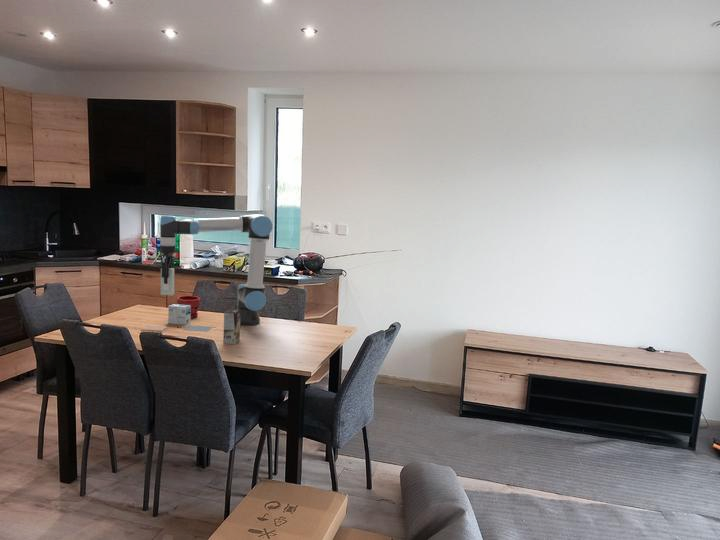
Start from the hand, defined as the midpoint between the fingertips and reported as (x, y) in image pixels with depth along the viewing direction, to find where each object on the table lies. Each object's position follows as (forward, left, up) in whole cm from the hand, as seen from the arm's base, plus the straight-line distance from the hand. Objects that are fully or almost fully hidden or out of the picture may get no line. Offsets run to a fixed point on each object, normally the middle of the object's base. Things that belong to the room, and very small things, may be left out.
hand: (167, 288), depth 292 cm
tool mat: (-14, -8, -23) cm, 28 cm away
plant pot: (+1, -38, -23) cm, 45 cm away
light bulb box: (0, -19, -23) cm, 30 cm away
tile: (+1, +1, -22) cm, 22 cm away
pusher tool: (0, 0, -3) cm, 3 cm away
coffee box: (-38, +14, -23) cm, 47 cm away
